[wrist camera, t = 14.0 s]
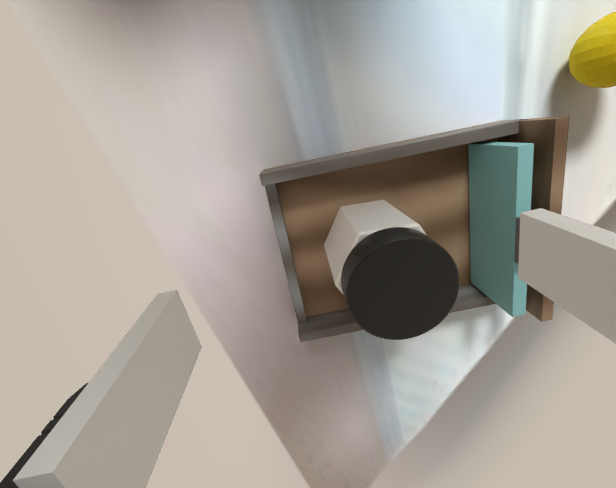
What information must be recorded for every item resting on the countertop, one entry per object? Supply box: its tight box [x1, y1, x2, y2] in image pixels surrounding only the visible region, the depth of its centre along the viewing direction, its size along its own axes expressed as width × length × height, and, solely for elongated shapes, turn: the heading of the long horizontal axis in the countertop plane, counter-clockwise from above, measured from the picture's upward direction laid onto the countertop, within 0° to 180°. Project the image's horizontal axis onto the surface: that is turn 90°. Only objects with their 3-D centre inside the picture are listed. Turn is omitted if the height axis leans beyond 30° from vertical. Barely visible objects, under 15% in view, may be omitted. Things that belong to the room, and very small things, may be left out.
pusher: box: [468, 141, 534, 317], centre depth 29 cm, size 15×2×8 cm, turn 11°
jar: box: [324, 200, 460, 340], centre depth 27 cm, size 9×8×12 cm
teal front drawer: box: [260, 116, 569, 342], centre depth 30 cm, size 18×24×8 cm
